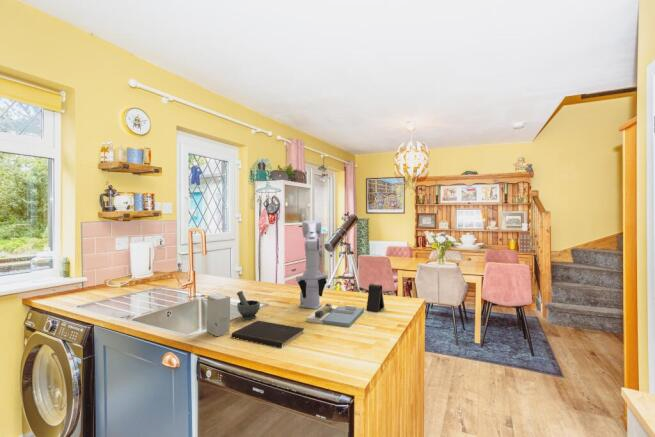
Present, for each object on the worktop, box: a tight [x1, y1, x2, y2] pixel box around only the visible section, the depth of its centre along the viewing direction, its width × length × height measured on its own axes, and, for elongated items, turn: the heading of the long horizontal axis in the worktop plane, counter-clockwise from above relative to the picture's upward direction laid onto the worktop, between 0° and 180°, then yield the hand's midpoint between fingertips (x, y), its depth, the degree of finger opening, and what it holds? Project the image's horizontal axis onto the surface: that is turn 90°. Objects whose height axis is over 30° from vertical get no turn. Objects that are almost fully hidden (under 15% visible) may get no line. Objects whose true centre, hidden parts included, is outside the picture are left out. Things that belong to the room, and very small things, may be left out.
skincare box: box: [205, 293, 231, 337], centre depth 127 cm, size 8×6×15 cm
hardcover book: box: [230, 320, 305, 349], centre depth 124 cm, size 16×23×2 cm
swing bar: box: [315, 303, 333, 318], centre depth 145 cm, size 14×3×2 cm, turn 158°
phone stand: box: [365, 283, 385, 313], centre depth 157 cm, size 9×6×12 cm, turn 149°
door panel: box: [322, 304, 364, 328], centre depth 144 cm, size 12×22×3 cm, turn 158°
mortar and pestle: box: [236, 290, 261, 321], centre depth 144 cm, size 11×9×12 cm
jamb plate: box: [305, 304, 340, 324], centre depth 148 cm, size 7×22×2 cm, turn 158°
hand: (312, 296), depth 141 cm, fingers open, 7 cm apart
